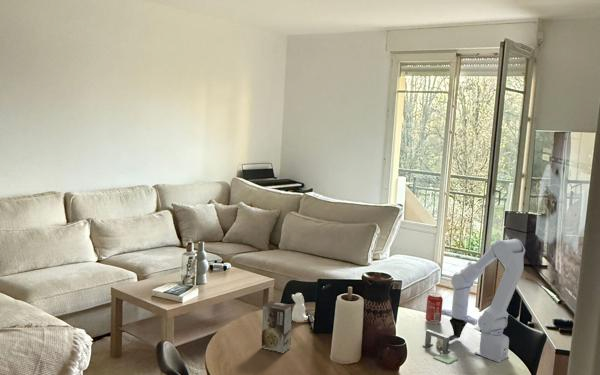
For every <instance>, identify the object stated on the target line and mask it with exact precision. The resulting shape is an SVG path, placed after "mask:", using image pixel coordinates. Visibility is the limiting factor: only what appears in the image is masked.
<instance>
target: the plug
mask: <svg viewBox="0 0 600 375" xmlns="http://www.w3.org/2000/svg"><path fill="white" fill-rule="evenodd" d="M441 334H442V335H445V336H448V337H449V342H451V341H453V340H455V339H458V338H457V335H456V334H454V333H453V334H452V335H446V334H443V333H441ZM435 344H436V345H435V347H436V348H439V349H442V348H443V340H442V339H439V338H437V337H436V342H435Z"/></svg>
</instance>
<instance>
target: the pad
mask: <svg viewBox="0 0 600 375" xmlns="http://www.w3.org/2000/svg"><path fill="white" fill-rule="evenodd" d="M433 359H435V360H436V361H440V362H441V363H444V364H446V365H450V364H451V363H454V362H455V361H456V362H457V361H458V358H456V357H455V356H452V355H449V354H447V353H446V354H443V353H442V354H438V355H435V356H433Z"/></svg>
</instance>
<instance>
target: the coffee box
mask: <svg viewBox="0 0 600 375" xmlns="http://www.w3.org/2000/svg"><path fill="white" fill-rule="evenodd" d="M292 311H293V304H288V303H282V302H278V301H274V300H270V301H269V302H267V303H266V304H264V305H262V325H261V347H263V348H268V349H271V350H275V351H279V352H285V351H286V350H287V349H288V348H290V349H291V347H292V346H291V344H292V343H291V342H292V324H293V321H292ZM290 346H291V347H290ZM287 351H288V350H287ZM287 351H286V352H287ZM286 352H285V353H286Z"/></svg>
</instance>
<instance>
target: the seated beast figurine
mask: <svg viewBox="0 0 600 375" xmlns="http://www.w3.org/2000/svg"><path fill="white" fill-rule="evenodd" d="M291 299H292V300H293V301H294V303H295V304H294V305H293V306H292V320H293V321H304V320H307V319H308V316H309V315H306V310H307V309H306V306H305V299H304V296H303V294H302V293H301V292H296V293H295V294H291ZM293 321H292V322H293Z"/></svg>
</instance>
